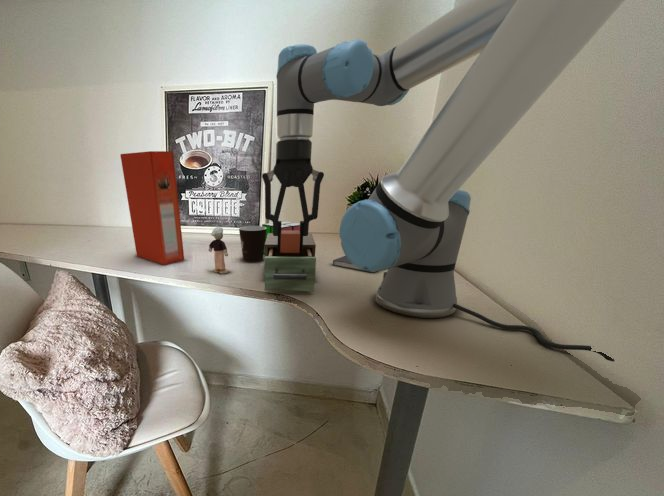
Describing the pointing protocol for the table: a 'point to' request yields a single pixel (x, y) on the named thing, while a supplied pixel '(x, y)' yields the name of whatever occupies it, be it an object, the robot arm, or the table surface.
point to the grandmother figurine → (218, 250)
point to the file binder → (153, 205)
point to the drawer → (290, 270)
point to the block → (290, 242)
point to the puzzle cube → (284, 227)
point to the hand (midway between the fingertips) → (289, 249)
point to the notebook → (347, 264)
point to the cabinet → (273, 243)
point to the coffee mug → (252, 242)
